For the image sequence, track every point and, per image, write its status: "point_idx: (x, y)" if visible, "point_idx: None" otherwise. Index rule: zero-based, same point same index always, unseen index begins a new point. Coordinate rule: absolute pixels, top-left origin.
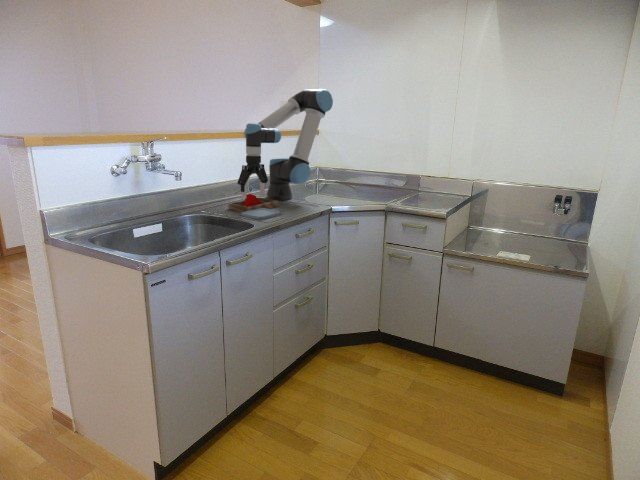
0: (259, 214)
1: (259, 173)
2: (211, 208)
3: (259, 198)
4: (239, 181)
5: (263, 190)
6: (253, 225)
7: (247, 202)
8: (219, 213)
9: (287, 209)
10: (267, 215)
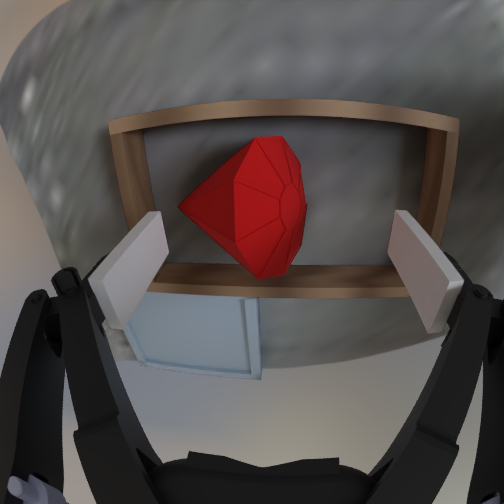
0: (167, 339)
1: (368, 474)
2: (78, 46)
3: (444, 131)
4: (36, 318)
5: (401, 278)
6: None
7: (202, 223)
8: (56, 174)
9: (370, 338)
10: (176, 370)
